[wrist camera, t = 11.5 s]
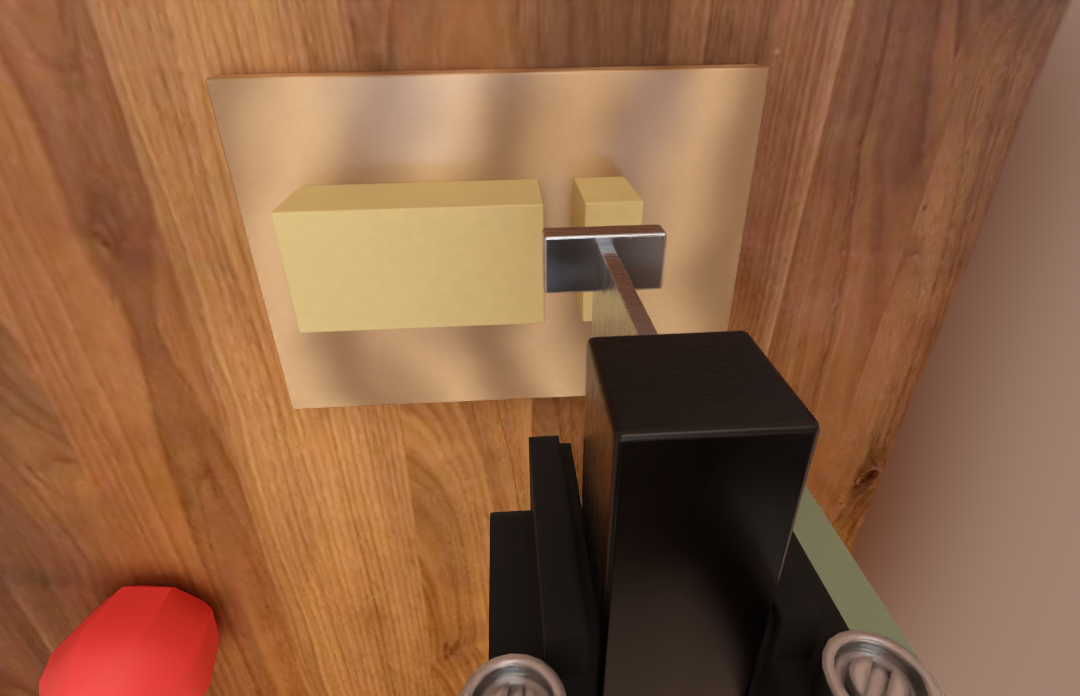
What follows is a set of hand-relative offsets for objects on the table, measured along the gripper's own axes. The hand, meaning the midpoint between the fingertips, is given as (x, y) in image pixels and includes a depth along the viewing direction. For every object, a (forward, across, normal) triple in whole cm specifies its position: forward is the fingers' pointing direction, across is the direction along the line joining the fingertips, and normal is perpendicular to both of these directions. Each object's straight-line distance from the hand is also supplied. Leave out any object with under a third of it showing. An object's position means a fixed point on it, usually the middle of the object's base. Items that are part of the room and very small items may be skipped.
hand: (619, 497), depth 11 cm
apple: (+17, +23, +23) cm, 37 cm away
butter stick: (+15, +5, 0) cm, 16 cm away
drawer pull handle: (+3, 0, 0) cm, 3 cm away
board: (+16, +2, +1) cm, 17 cm away
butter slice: (+15, -2, 0) cm, 15 cm away
